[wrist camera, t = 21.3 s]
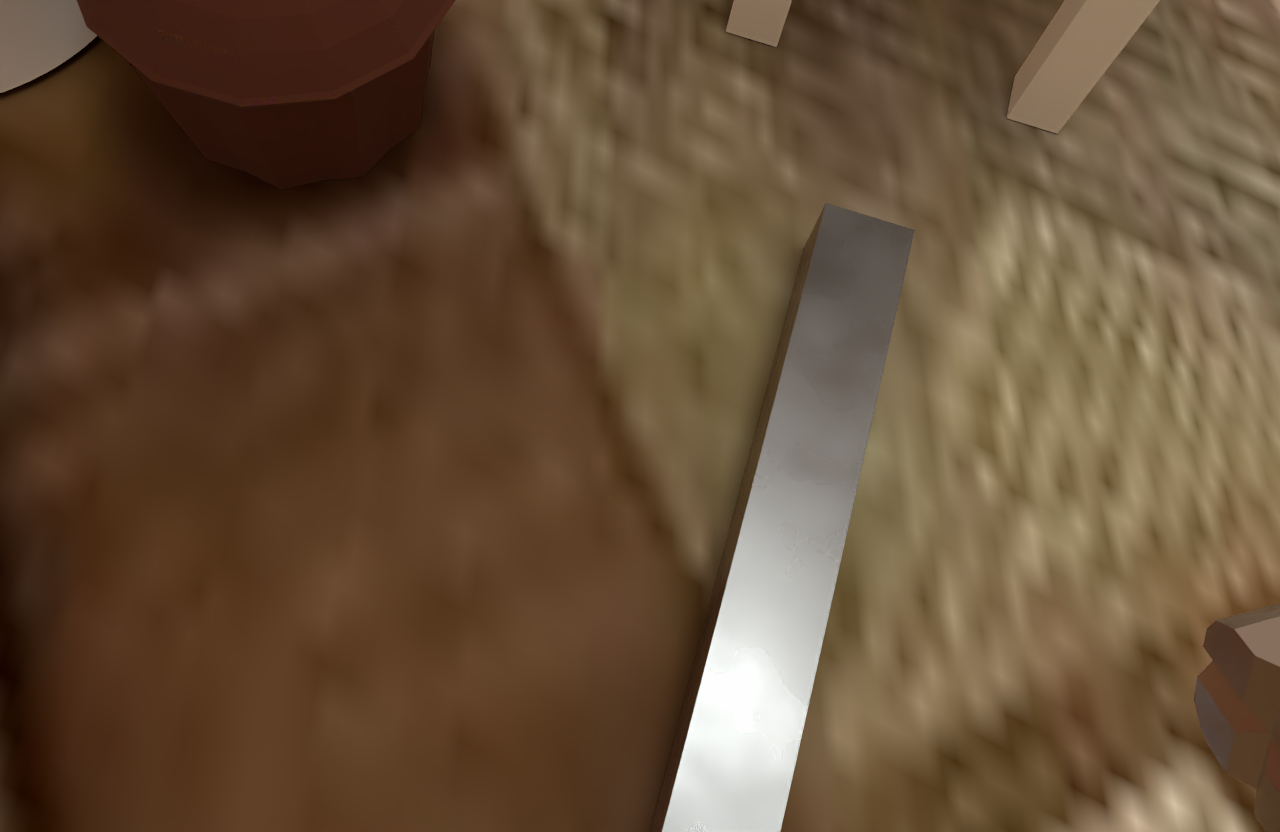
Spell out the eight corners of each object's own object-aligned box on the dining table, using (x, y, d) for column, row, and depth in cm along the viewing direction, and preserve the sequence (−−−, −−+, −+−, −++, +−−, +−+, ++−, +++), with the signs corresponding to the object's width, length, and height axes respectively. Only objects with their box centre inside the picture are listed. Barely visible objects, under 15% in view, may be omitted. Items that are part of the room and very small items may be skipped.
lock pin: (606, 986, 30) (615, 1002, 28) (802, 249, 39) (824, 201, 36) (715, 1020, 30) (736, 1039, 28) (886, 274, 39) (916, 229, 36)
